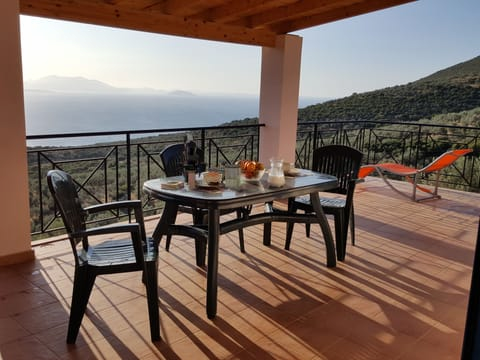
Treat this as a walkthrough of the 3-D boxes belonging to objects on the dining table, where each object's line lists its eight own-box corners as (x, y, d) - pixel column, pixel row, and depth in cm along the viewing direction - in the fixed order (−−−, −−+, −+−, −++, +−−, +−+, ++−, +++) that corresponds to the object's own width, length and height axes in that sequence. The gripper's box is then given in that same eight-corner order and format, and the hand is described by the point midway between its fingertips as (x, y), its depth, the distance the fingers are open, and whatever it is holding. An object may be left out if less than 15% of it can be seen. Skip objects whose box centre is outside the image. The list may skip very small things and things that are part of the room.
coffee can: (223, 184, 294) (224, 164, 291) (239, 184, 296) (239, 164, 293) (226, 188, 284) (226, 166, 281) (241, 187, 286) (242, 166, 283)
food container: (228, 182, 303) (228, 168, 301) (224, 183, 297) (224, 169, 295) (211, 180, 307) (211, 166, 305) (207, 182, 301) (208, 168, 299)
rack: (170, 184, 291) (170, 180, 290) (184, 186, 287) (184, 181, 286) (161, 188, 280) (161, 183, 279) (174, 189, 276) (174, 185, 275)
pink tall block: (188, 187, 285) (188, 172, 283) (194, 187, 285) (194, 171, 284) (188, 188, 280) (188, 173, 278) (194, 188, 281) (194, 173, 279)
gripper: (176, 150, 281) (176, 170, 272) (206, 150, 283) (206, 170, 275) (176, 160, 290) (176, 180, 281) (205, 160, 292) (206, 180, 284)
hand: (191, 177), depth 280 cm, fingers open, 9 cm apart
